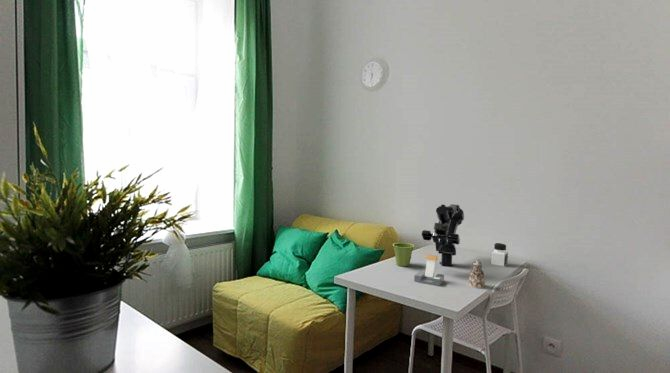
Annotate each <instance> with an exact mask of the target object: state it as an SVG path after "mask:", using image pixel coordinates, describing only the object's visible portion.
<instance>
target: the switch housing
mask: <svg viewBox="0 0 670 373" xmlns="http://www.w3.org/2000/svg"><path fill="white" fill-rule="evenodd" d="M413 279H414V280H413V281H414V282H416V283H422V284H427V285H432V286H437V287H440V286H441V285H442V284H443V282H445V274H443V273H436V274H435V275H434V278H431V277H425V270H419V271H418V272H417V273H415V274H414V278H413Z"/></svg>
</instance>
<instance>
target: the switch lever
mask: <svg viewBox="0 0 670 373" xmlns="http://www.w3.org/2000/svg"><path fill="white" fill-rule="evenodd" d="M425 256H426V258H425V259H426V265H425V270H424V271H425V277H431V278H434V277H435V275H436V274H435V273H436V265H437V262H438V260H439V259H438V258H439V256H438V255H433V254H427V253H426V255H425Z"/></svg>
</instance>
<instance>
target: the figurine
mask: <svg viewBox="0 0 670 373" xmlns="http://www.w3.org/2000/svg"><path fill="white" fill-rule="evenodd" d="M482 266H483V263H482V262H481V261H480V259H476V260H474V261H473V263H472V269H471V270H470V273H469V276H468V286H470V287H471V288H475V289H483V288H485V284H486V278H485V272H484V271H483V270H482V269H483V268H482Z"/></svg>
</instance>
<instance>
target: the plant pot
mask: <svg viewBox="0 0 670 373" xmlns="http://www.w3.org/2000/svg"><path fill="white" fill-rule="evenodd" d="M392 246H393V250H394V257H395V262H396V263H395V264H396V265H397V266H398V267H409V266H410V264H411V259H412V253H413V250H414V247H415V245H414V244H413V243H408V242H407V243H406V242H394V243H392Z"/></svg>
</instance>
